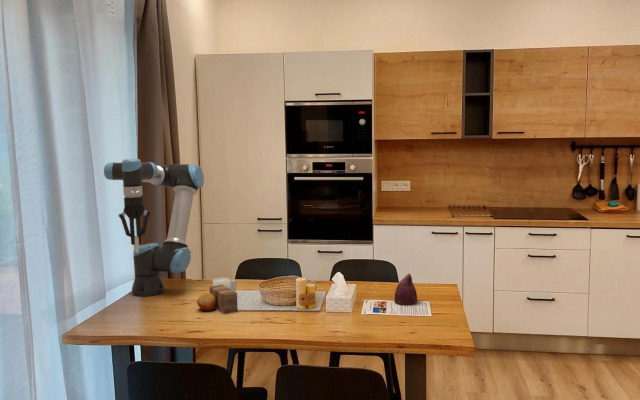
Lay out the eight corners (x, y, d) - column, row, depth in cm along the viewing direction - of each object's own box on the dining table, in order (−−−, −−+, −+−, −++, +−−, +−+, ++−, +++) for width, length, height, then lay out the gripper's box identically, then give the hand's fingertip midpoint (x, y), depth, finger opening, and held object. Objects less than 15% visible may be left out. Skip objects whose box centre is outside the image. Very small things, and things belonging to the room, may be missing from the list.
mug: (210, 297, 270) (209, 278, 269) (232, 294, 276) (231, 275, 275) (217, 302, 263) (216, 282, 262) (239, 298, 269) (238, 278, 268)
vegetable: (420, 310, 256) (428, 279, 251) (399, 310, 252) (407, 279, 247) (408, 298, 265) (417, 268, 260) (388, 298, 261) (396, 268, 256)
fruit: (221, 303, 257) (216, 290, 252) (215, 317, 251) (210, 304, 246) (205, 301, 259) (199, 289, 254) (198, 315, 253) (192, 303, 248)
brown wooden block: (210, 304, 260) (209, 286, 259) (222, 302, 263) (222, 284, 262) (224, 313, 247) (223, 295, 246) (237, 311, 250) (236, 292, 249)
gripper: (119, 198, 238) (123, 255, 240) (151, 195, 244) (154, 251, 247) (115, 196, 244) (118, 252, 247) (146, 194, 251) (149, 248, 254)
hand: (136, 251), depth 247 cm, fingers closed
